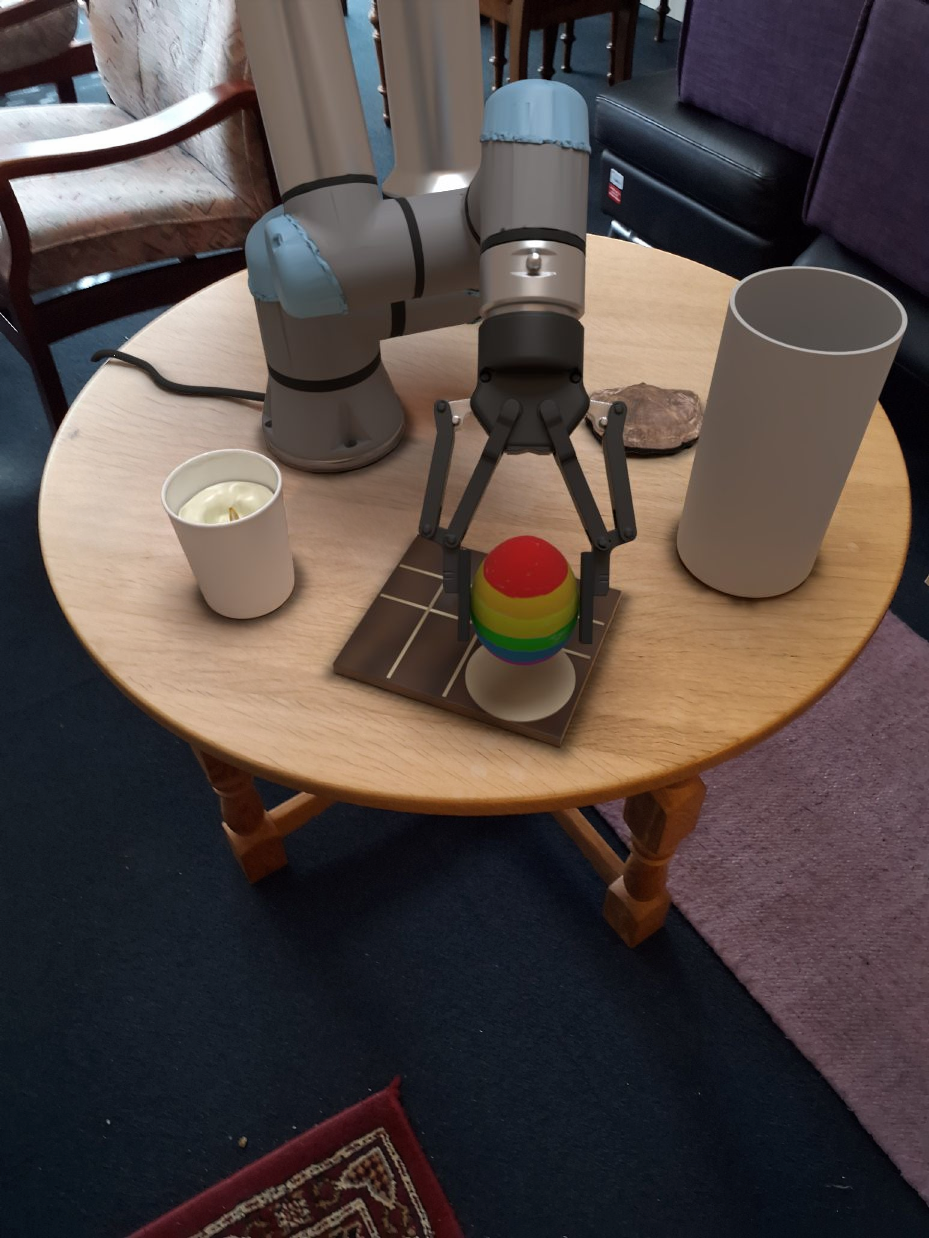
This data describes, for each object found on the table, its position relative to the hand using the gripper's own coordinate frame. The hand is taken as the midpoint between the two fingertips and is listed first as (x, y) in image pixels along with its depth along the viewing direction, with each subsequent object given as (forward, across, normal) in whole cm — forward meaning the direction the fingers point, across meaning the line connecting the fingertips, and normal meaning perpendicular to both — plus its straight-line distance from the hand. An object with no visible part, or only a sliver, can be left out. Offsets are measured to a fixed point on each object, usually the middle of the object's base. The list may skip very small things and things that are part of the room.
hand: (524, 640), depth 65 cm
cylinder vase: (-7, +21, +21) cm, 30 cm away
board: (+1, -3, +13) cm, 14 cm away
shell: (-21, +13, +35) cm, 43 cm away
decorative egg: (0, 0, +5) cm, 5 cm away
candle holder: (-3, -25, +17) cm, 30 cm away
